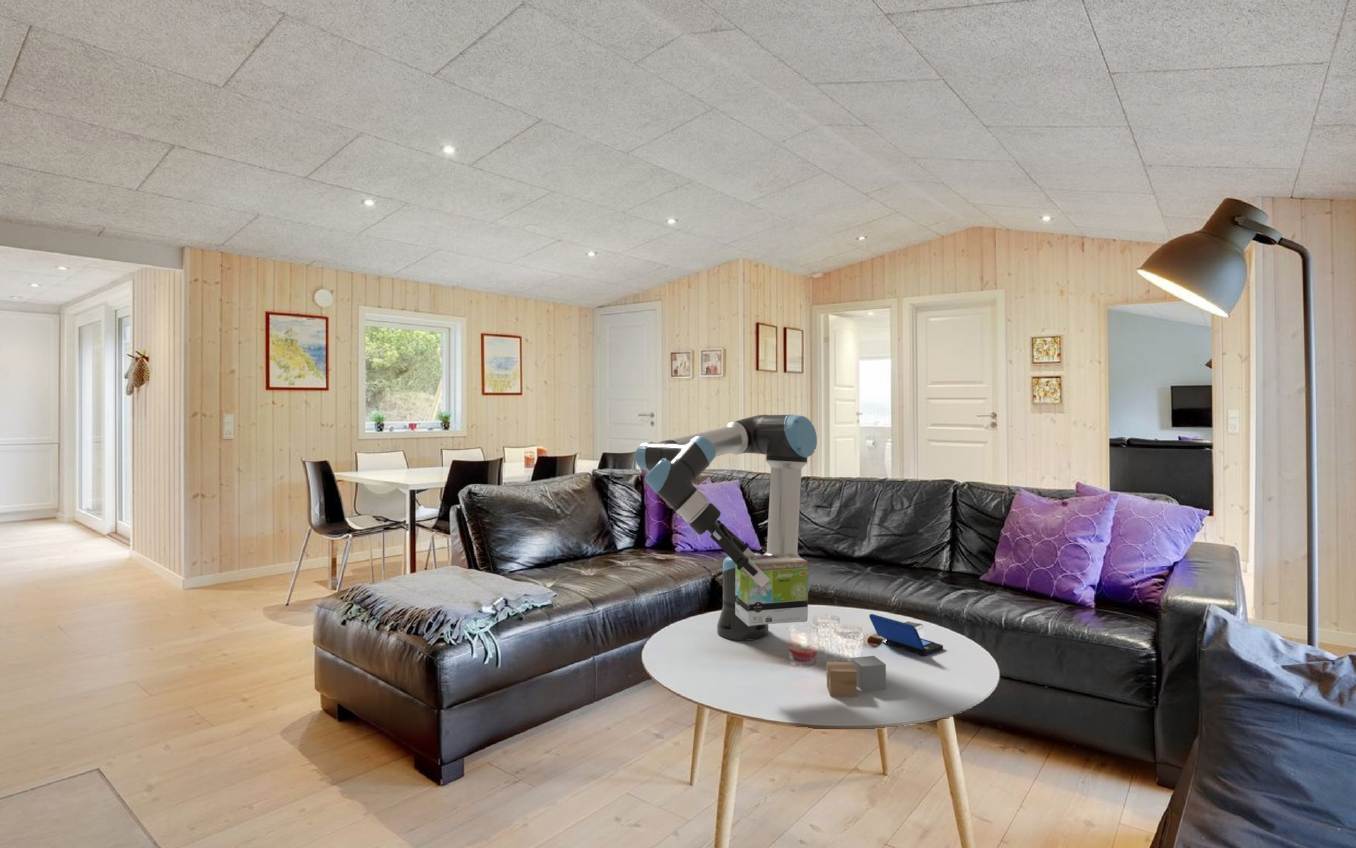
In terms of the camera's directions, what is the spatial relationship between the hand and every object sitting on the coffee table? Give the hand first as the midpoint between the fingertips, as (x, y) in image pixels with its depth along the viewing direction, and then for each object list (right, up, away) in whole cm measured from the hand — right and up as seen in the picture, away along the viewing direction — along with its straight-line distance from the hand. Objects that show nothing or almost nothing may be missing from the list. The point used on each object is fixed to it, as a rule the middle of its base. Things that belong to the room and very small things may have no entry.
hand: (764, 576), depth 172 cm
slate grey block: (+25, -27, +2) cm, 37 cm away
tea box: (+2, -11, +1) cm, 11 cm away
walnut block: (+18, -27, -2) cm, 32 cm away
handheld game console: (+43, -26, +29) cm, 58 cm away
